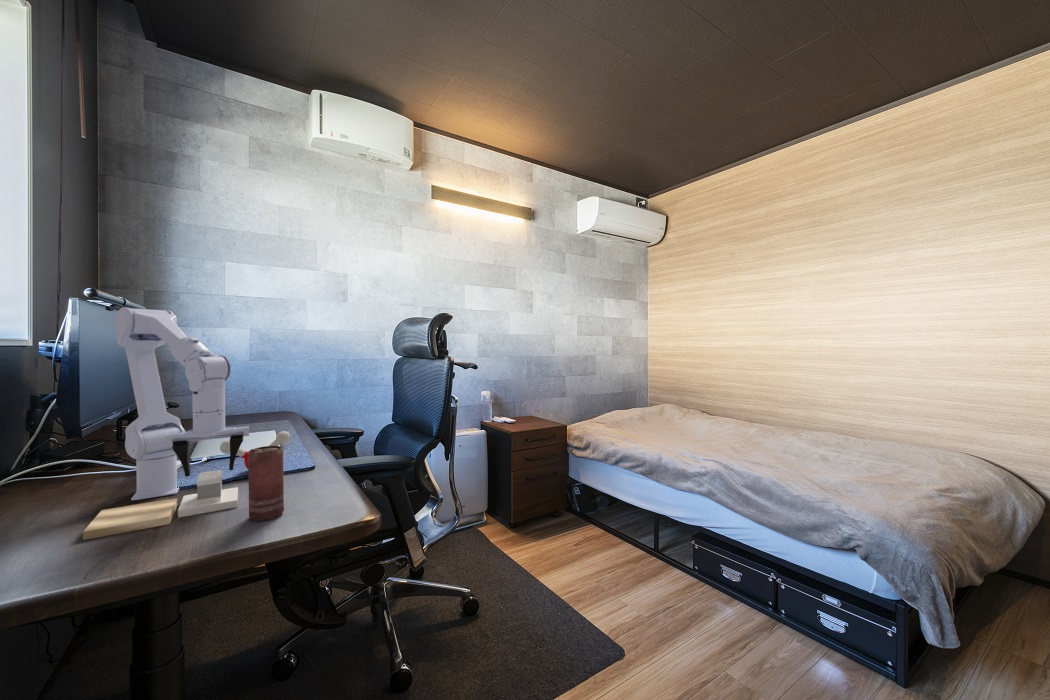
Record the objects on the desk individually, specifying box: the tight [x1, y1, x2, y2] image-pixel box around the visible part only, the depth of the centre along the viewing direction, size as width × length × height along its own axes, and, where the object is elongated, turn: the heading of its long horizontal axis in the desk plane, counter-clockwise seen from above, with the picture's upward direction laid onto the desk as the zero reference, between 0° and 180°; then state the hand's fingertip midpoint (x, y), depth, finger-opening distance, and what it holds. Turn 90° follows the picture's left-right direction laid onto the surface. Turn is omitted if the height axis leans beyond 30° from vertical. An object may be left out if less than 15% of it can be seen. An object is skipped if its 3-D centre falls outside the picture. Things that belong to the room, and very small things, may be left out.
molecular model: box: [219, 430, 291, 470], centre depth 117 cm, size 18×6×10 cm, turn 145°
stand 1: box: [82, 497, 179, 541], centre depth 84 cm, size 12×12×2 cm
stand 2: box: [177, 486, 239, 518], centre depth 92 cm, size 10×10×2 cm
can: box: [247, 445, 285, 523], centre depth 86 cm, size 6×6×14 cm
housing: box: [196, 469, 223, 505], centre depth 92 cm, size 7×4×5 cm, turn 34°
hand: (210, 472), depth 92 cm, fingers open, 7 cm apart
